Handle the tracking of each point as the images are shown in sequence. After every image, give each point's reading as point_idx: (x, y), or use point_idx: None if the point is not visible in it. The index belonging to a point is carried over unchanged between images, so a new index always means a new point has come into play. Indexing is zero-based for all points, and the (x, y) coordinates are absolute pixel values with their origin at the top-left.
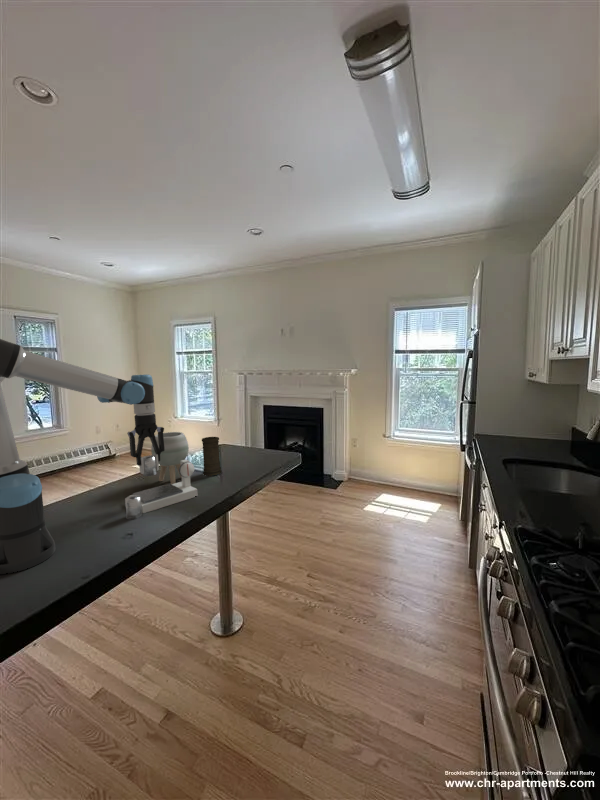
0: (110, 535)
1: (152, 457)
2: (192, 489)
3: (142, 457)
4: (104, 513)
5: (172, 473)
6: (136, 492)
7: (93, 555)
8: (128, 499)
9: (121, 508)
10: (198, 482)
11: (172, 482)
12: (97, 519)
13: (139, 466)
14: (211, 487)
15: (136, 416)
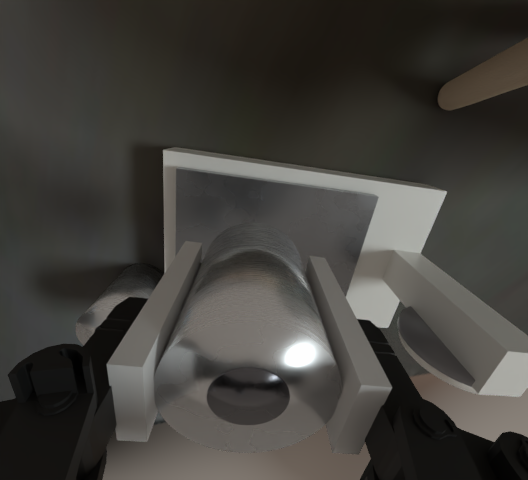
0: (54, 341)
1: (264, 446)
2: (377, 317)
3: (139, 435)
4: (57, 166)
5: (509, 84)
6: (194, 173)
7: (8, 391)
8: (88, 338)
9: (129, 175)
10: (516, 184)
11: (449, 102)
12: (25, 203)
13: (167, 269)
14: (470, 281)
15: None
